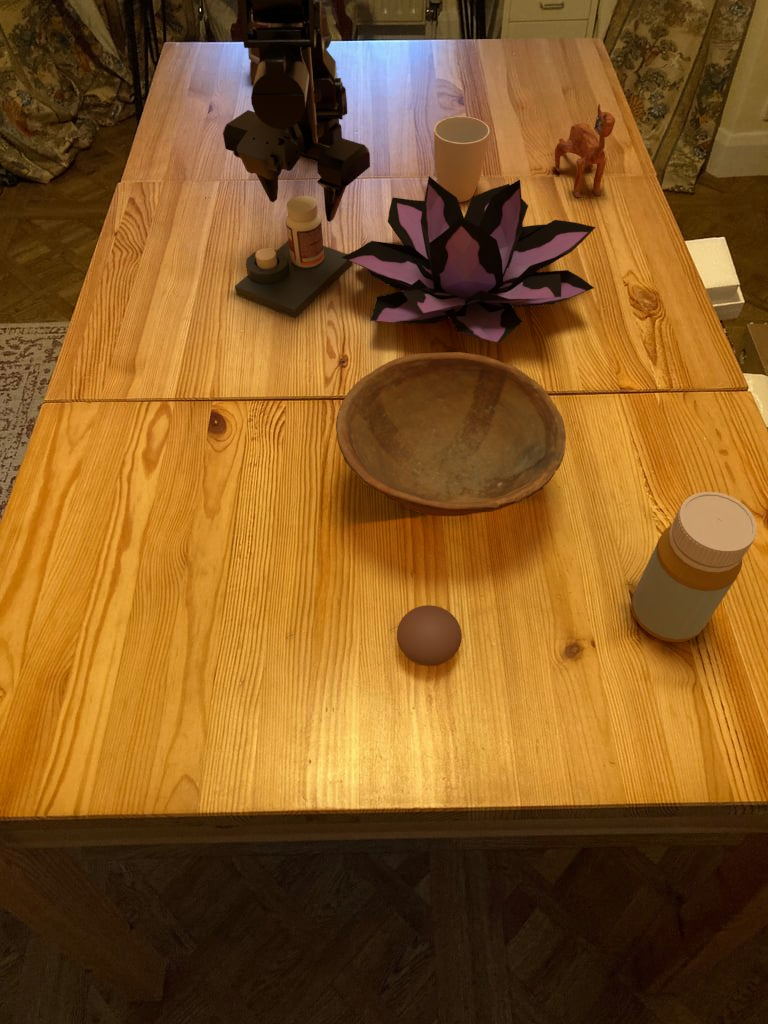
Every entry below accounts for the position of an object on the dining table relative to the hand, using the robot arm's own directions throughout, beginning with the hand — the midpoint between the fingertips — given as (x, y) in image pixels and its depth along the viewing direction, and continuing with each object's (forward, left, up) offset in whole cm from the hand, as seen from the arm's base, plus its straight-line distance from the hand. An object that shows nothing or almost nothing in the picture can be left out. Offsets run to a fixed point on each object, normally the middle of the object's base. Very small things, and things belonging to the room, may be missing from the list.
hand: (301, 210), depth 102 cm
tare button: (-3, -5, -6) cm, 9 cm away
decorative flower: (+22, +6, -9) cm, 25 cm away
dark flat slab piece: (0, -3, -9) cm, 9 cm away
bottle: (+62, -28, -9) cm, 69 cm away
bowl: (+36, -25, -9) cm, 45 cm away
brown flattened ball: (+44, -43, -9) cm, 62 cm away
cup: (+9, +28, -9) cm, 31 cm away
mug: (-37, +48, -9) cm, 61 cm away
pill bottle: (0, 0, -8) cm, 8 cm away
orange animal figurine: (+23, +43, -9) cm, 49 cm away
